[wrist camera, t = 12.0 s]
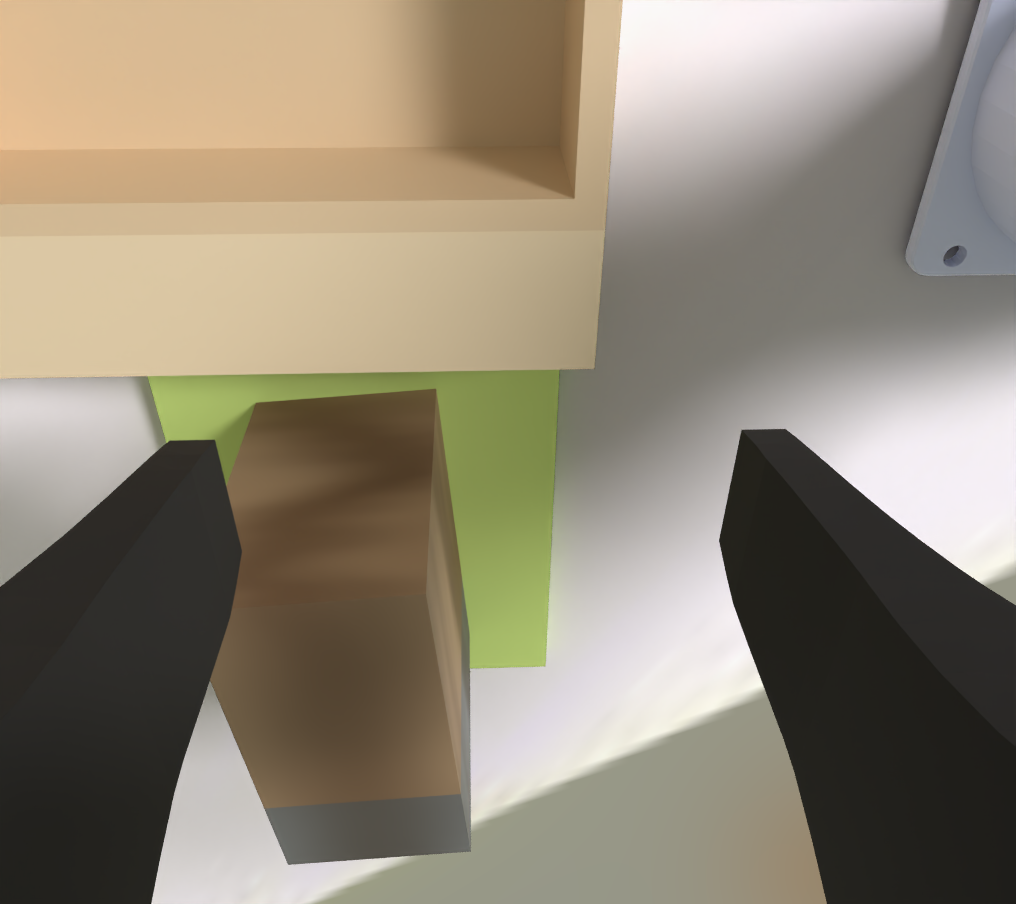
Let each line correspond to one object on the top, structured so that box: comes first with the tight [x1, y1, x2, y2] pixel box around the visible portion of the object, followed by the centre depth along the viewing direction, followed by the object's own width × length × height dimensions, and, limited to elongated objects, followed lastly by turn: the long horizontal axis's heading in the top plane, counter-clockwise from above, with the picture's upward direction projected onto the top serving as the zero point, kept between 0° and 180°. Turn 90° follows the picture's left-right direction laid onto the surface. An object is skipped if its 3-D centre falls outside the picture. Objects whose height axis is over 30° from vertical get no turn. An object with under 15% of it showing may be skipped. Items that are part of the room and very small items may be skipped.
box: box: [210, 389, 471, 865], centre depth 21 cm, size 4×9×7 cm, turn 4°
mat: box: [147, 370, 560, 668], centre depth 24 cm, size 10×12×1 cm
